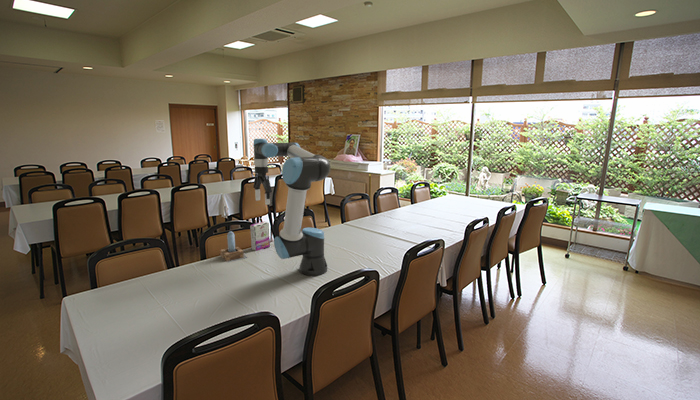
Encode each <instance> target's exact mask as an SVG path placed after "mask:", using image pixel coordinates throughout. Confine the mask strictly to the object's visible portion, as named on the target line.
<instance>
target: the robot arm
mask: <svg viewBox="0 0 700 400" xmlns="http://www.w3.org/2000/svg"><path fill="white" fill-rule="evenodd" d="M252 146H253V156H254V157H253V158H254V159H253V165H254V180H253V181H254V182H253V188H254V194H255V201H256V202H257V201H261V185H262V187H263V189H264V191H265V192H264V204H265V206H268V205H271V193H273V190H272V186H271V182H270V175H267V174H268V173H269V166H268V165H269V158H279V157H281V158H282V157H288V159H287V160H285V161H284V163H283V165H282V169H281V174H282V181H283V182H284V183H285V186H286V187H287V188H288V189H287V199H286V205H285V213H284V222H283V228H281V230H280V231H279V234H278V235H279V236H275V237H274V239H273V245H274V246H273V247H274V249H275V252H276V254H277V256H278V257H279V258H280V259H281V260H285V259H286V260H287V259H291V258H295V257H299V256H302V258H301V261H300V264H299V267H298V268H299V273H301V274H302V275H305V276H312V277H313V276H320V275H323V274H325V273H327V271H328V263H327V260H326V258H325V234H324V233H325V232H324V231H323V230H322V229H320V228H316V227H304V228H302V224H303V217H304V212H305V206H306V205H305V204H306V198H307V192H308V190H310V189H311V186H312V183H315V182H321V181H324V180H325V179H326V178H327V177H328V176H329V175H330V172H331V163H330V161H329V160H328V158H327V157H325V156H323V155H321V154H314V153H312V152H310V151H308V150H306V149H303V148H302V147H301V146H300V144H299V142H268V140H267V139H266V138H255V139H253V144H252Z"/></svg>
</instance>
